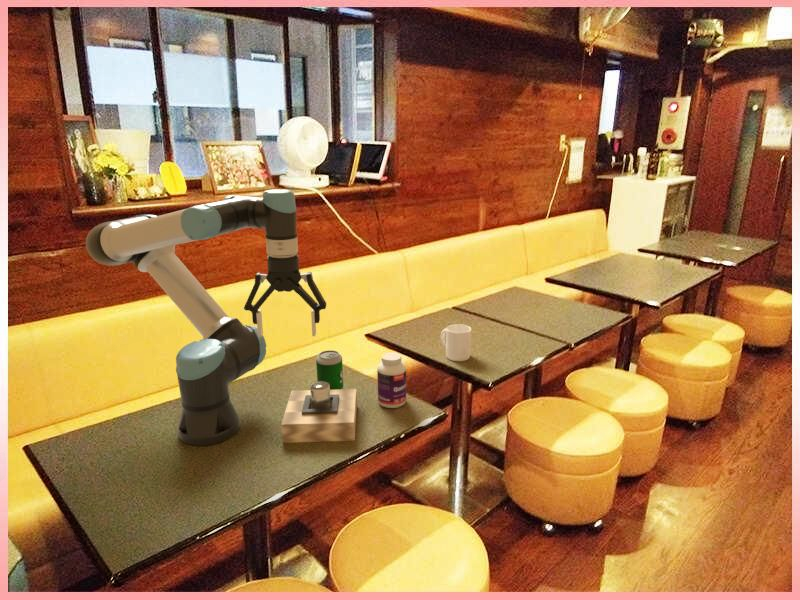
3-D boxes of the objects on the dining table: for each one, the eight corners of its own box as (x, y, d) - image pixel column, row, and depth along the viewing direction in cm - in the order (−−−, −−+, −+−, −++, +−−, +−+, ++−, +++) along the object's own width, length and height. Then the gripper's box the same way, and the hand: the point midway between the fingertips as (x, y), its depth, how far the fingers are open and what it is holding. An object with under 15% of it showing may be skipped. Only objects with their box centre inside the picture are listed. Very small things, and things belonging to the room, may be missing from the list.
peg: (310, 410, 145) (309, 390, 143) (312, 400, 150) (311, 381, 148) (329, 409, 145) (328, 390, 144) (331, 400, 150) (330, 381, 148)
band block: (282, 442, 140) (281, 421, 139) (292, 407, 158) (291, 388, 156) (354, 440, 141) (353, 419, 139) (356, 405, 158) (356, 386, 156)
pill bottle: (396, 412, 154) (395, 364, 150) (372, 405, 158) (371, 358, 154) (411, 400, 161) (411, 354, 156) (388, 393, 165) (387, 348, 160)
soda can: (339, 398, 162) (337, 360, 158) (314, 396, 164) (312, 358, 160) (346, 386, 169) (345, 350, 165) (322, 384, 171) (320, 348, 167)
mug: (432, 353, 192) (433, 325, 189) (448, 347, 198) (449, 319, 194) (459, 364, 184) (460, 335, 181) (475, 356, 189) (476, 328, 186)
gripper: (227, 258, 132) (234, 341, 139) (333, 257, 134) (335, 339, 141) (233, 251, 140) (240, 330, 146) (334, 250, 141) (336, 328, 148)
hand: (287, 335), depth 144 cm, fingers open, 13 cm apart
